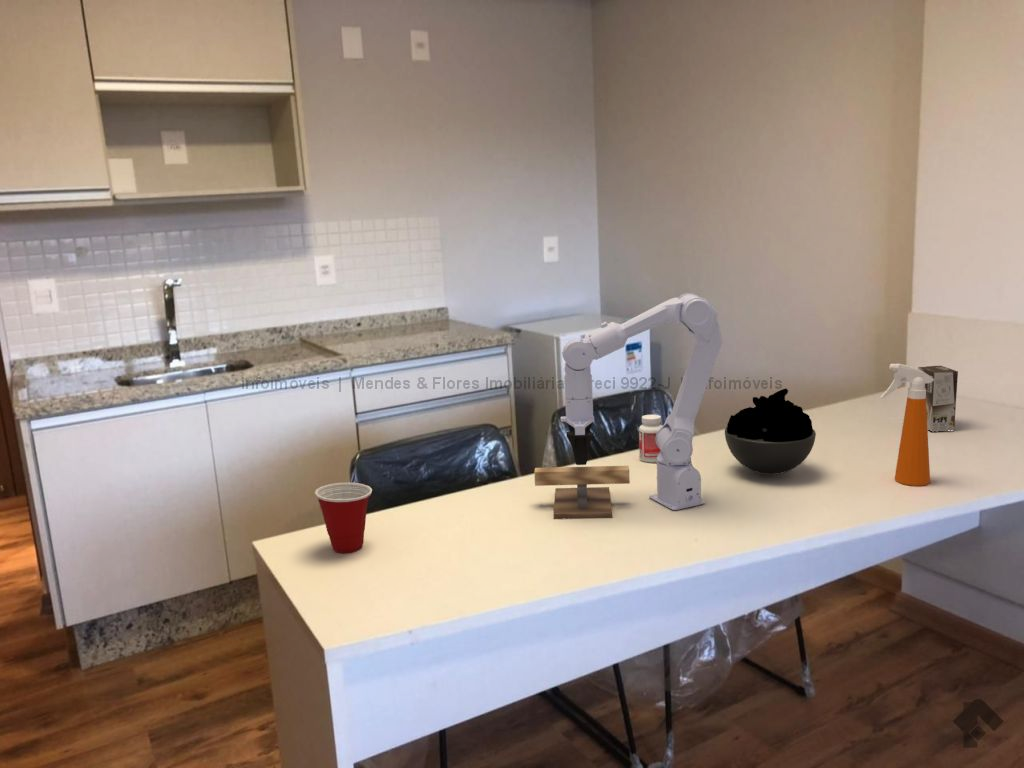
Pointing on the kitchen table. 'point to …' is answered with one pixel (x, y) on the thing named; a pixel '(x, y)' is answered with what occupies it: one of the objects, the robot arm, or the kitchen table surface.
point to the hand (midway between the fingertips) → (581, 458)
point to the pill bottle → (649, 438)
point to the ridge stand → (582, 502)
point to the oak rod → (582, 475)
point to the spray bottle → (912, 427)
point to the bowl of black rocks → (770, 435)
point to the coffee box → (940, 397)
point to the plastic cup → (344, 514)
